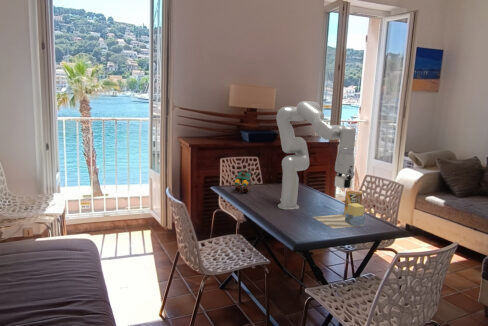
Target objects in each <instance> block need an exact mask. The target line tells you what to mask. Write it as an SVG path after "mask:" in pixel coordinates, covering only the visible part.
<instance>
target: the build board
mask: <svg viewBox="0 0 488 326" xmlns="http://www.w3.org/2000/svg"><path fill="white" fill-rule="evenodd" d="M365 217H366V216H365V214H364V215H363V216H352V215H350V214H348V213H345V216H344V214H330V215H319V216H312V218H313V219H315V220H316V221H319V222H320V223H322V224H323V225H325V226H327V227H329V228H331V229H342V228H343V229H344V228H351V227H361V226H362V227H363V226H365V220H366V219H365Z"/></svg>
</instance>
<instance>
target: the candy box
mask: <svg viewBox="0 0 488 326" xmlns="http://www.w3.org/2000/svg"><path fill="white" fill-rule="evenodd" d="M344 198H345V199H344V208H343V215H344V216H345V213H347V206H348V204H352V203H358V204H360V205H362V200H363V199H362V198H363V191H360V190H352V189H346V191H345V197H344Z"/></svg>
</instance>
